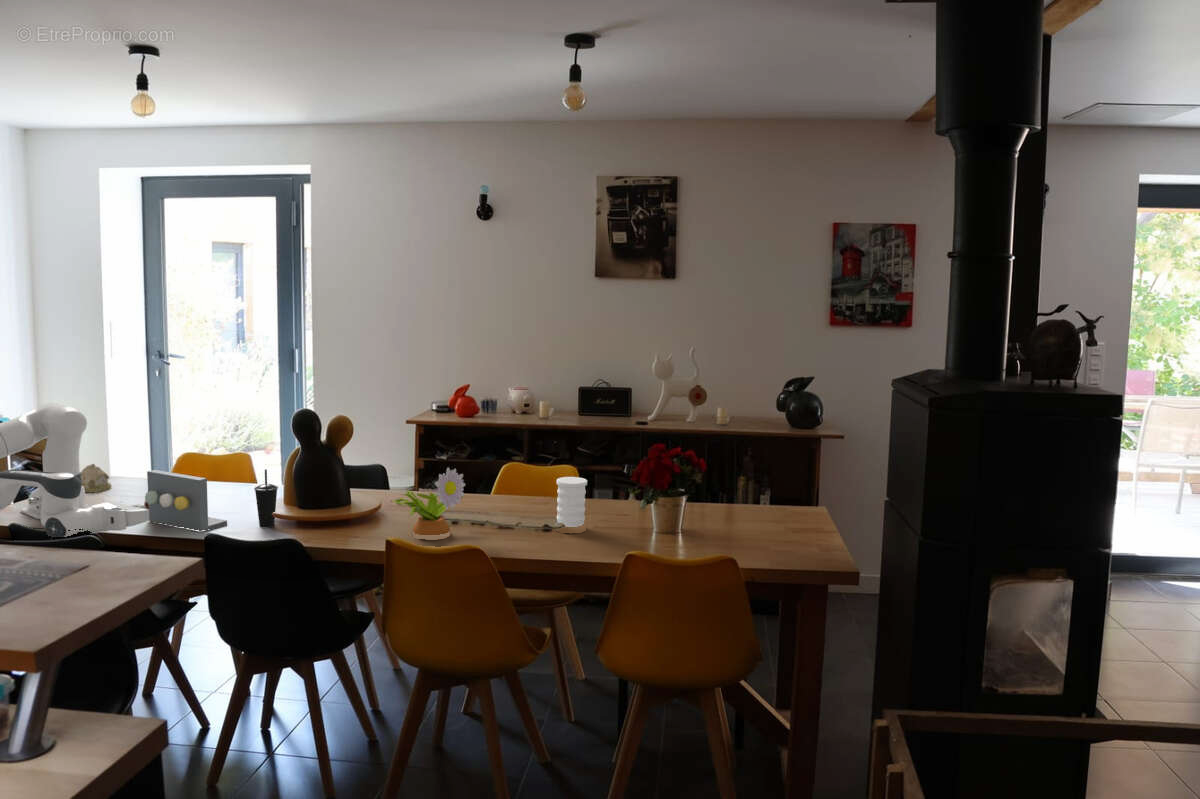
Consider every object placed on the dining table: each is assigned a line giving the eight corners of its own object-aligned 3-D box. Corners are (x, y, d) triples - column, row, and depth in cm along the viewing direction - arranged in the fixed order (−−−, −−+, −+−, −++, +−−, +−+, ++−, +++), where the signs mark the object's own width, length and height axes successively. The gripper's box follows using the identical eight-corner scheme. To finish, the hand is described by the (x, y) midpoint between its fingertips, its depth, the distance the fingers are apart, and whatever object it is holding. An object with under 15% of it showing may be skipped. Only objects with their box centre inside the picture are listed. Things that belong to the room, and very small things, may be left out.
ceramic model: (118, 488, 350) (116, 464, 349) (90, 494, 340) (89, 468, 339) (96, 483, 357) (95, 459, 355) (68, 489, 347) (67, 464, 346)
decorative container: (558, 535, 305) (559, 484, 302) (551, 525, 316) (552, 477, 313) (590, 533, 308) (591, 483, 305) (582, 524, 319) (583, 476, 316)
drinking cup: (253, 529, 300) (252, 472, 297) (256, 523, 307) (255, 467, 305) (277, 528, 302) (276, 471, 299) (279, 522, 309) (278, 466, 307)
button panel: (149, 522, 305) (147, 471, 302) (176, 514, 315) (174, 465, 312) (201, 532, 295) (199, 480, 292) (227, 524, 305) (225, 474, 302)
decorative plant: (427, 549, 284) (427, 474, 280) (377, 535, 297) (377, 463, 294) (484, 531, 306) (485, 461, 302) (434, 519, 319) (435, 452, 316)
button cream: (159, 506, 296) (159, 493, 296) (164, 505, 298) (164, 492, 297) (169, 508, 294) (168, 495, 294) (174, 506, 296) (173, 494, 296)
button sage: (145, 503, 299) (144, 491, 299) (150, 502, 301) (150, 490, 300) (154, 505, 297) (154, 492, 297) (159, 504, 299) (159, 491, 299)
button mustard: (174, 509, 293) (174, 496, 293) (179, 507, 295) (179, 495, 295) (183, 511, 292) (183, 498, 291) (189, 509, 293) (188, 496, 293)
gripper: (81, 522, 279) (120, 512, 292) (125, 531, 271) (164, 520, 283) (80, 502, 278) (119, 493, 291) (124, 511, 270) (163, 501, 282)
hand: (142, 507), depth 287 cm, fingers closed
